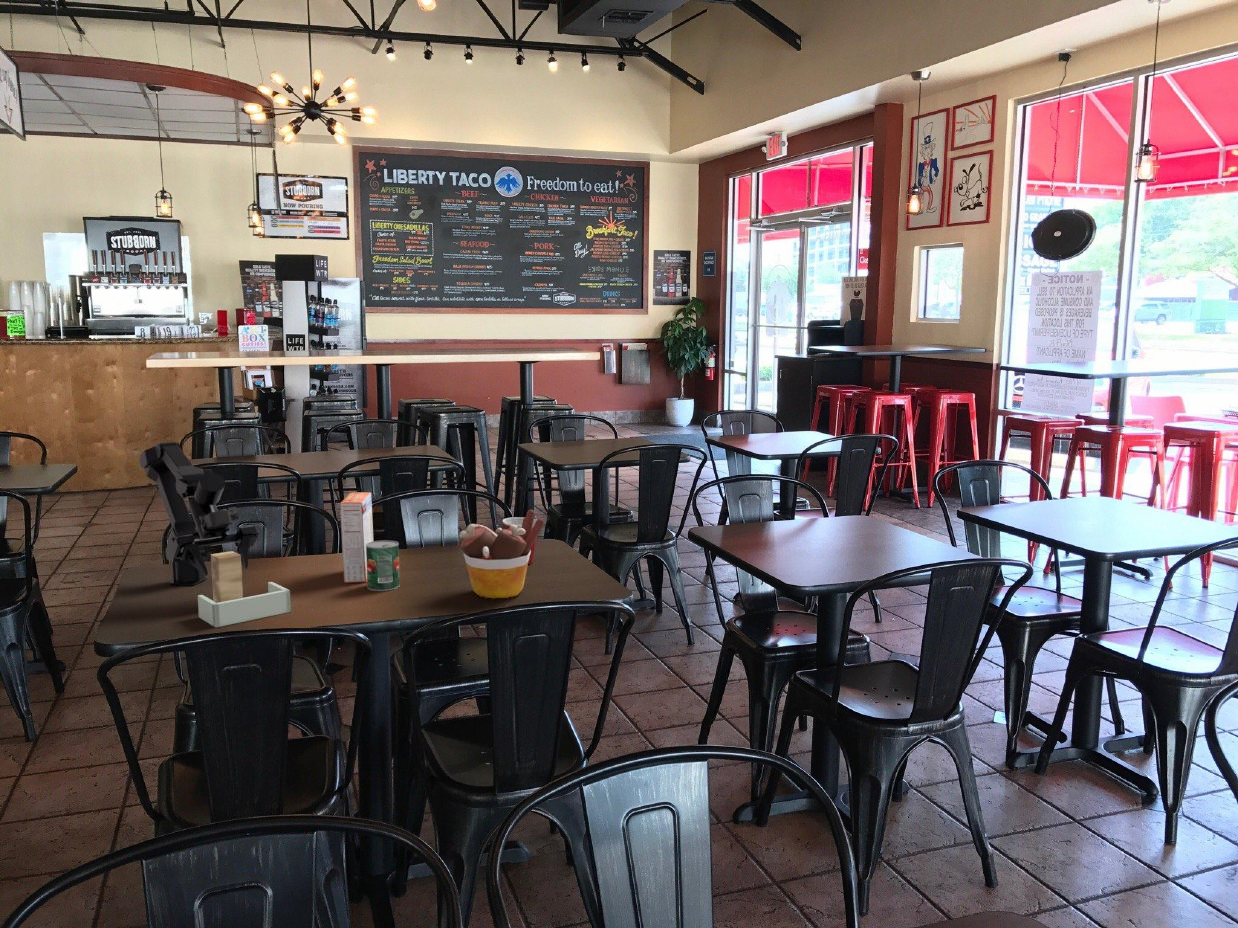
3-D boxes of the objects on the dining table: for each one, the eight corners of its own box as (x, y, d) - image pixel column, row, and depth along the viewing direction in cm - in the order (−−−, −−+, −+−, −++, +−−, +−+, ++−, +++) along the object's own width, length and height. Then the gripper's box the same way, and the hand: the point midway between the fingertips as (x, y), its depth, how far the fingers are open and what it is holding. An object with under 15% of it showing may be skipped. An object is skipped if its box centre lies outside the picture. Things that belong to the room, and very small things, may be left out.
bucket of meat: (472, 607, 225) (470, 523, 222) (450, 589, 240) (448, 510, 237) (551, 596, 234) (551, 515, 231) (525, 579, 249) (525, 503, 246)
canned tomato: (361, 587, 242) (359, 543, 240) (388, 580, 247) (386, 538, 246) (379, 593, 236) (377, 549, 235) (406, 586, 242) (405, 543, 240)
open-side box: (198, 617, 217) (197, 595, 216) (273, 602, 228) (272, 581, 228) (215, 627, 210) (214, 605, 209) (291, 611, 221) (290, 590, 220)
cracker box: (352, 569, 259) (349, 491, 255) (375, 568, 259) (372, 491, 256) (341, 583, 245) (338, 501, 242) (366, 583, 245) (363, 501, 242)
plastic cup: (540, 568, 260) (540, 524, 258) (500, 568, 260) (499, 524, 259) (544, 558, 271) (544, 516, 269) (505, 558, 271) (505, 515, 269)
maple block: (213, 604, 226) (210, 554, 225) (234, 600, 230) (232, 551, 228) (221, 609, 223) (218, 558, 221) (243, 605, 226) (240, 554, 224)
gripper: (172, 501, 220) (192, 558, 214) (253, 492, 232) (275, 545, 226) (162, 529, 227) (182, 585, 220) (242, 519, 239) (263, 571, 233)
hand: (226, 571), depth 225 cm, fingers open, 9 cm apart
